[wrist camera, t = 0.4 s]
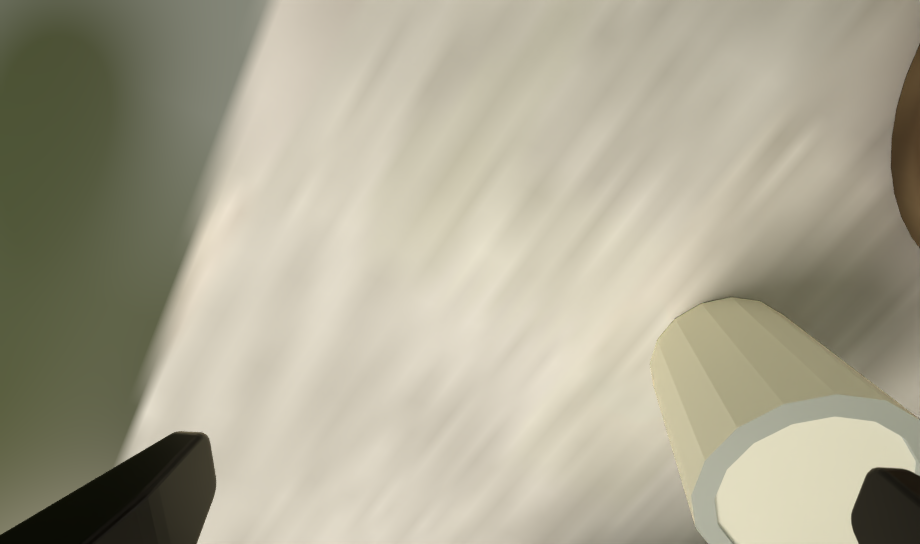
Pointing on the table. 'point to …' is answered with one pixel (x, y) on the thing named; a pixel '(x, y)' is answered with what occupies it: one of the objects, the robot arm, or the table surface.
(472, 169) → the table surface
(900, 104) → the walnut pedestal
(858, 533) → the robot arm
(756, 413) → the cream short cylinder
